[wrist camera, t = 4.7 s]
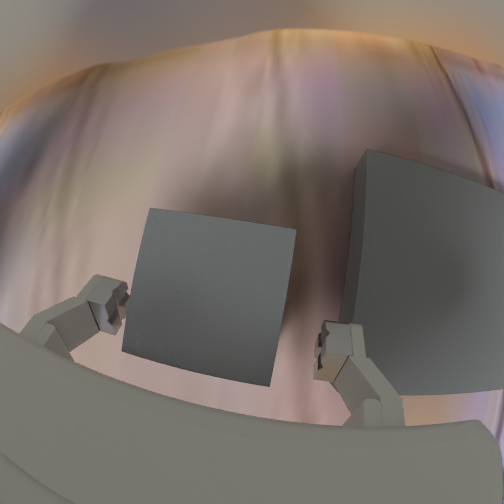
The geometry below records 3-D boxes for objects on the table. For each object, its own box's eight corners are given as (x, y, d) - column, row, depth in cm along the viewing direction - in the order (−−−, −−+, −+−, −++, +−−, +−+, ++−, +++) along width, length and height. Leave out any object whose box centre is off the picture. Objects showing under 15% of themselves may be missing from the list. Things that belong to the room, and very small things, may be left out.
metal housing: (188, 332, 18) (121, 351, 9) (203, 254, 18) (149, 207, 10) (268, 347, 17) (269, 386, 8) (282, 267, 18) (296, 229, 9)
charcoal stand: (327, 379, 17) (338, 392, 14) (354, 170, 19) (367, 148, 16) (486, 381, 15) (510, 387, 12) (498, 211, 18) (520, 200, 15)
